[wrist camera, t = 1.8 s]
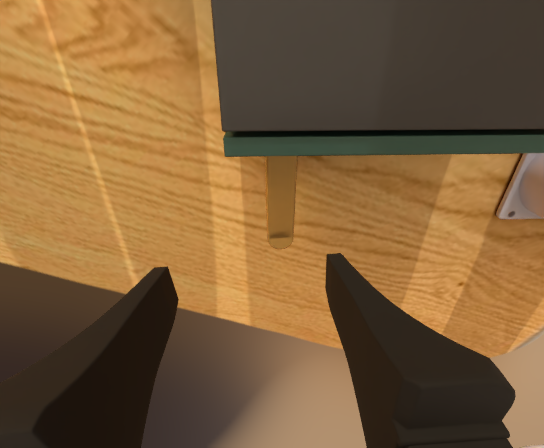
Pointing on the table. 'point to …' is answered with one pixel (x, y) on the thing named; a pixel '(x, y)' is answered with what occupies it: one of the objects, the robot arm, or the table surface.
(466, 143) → the cubby door
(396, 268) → the table surface
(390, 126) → the cubby
